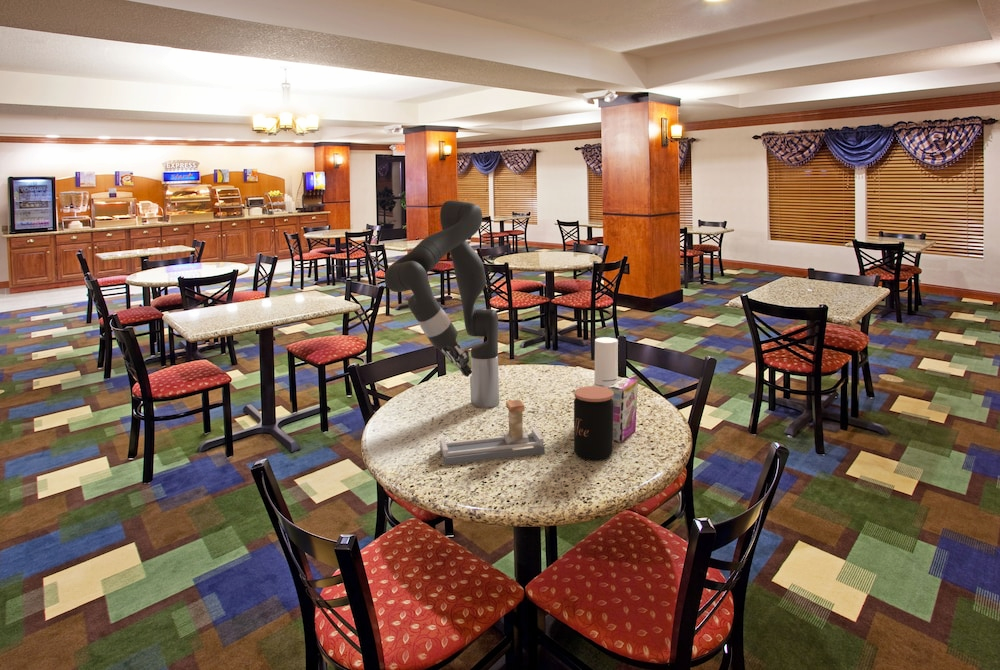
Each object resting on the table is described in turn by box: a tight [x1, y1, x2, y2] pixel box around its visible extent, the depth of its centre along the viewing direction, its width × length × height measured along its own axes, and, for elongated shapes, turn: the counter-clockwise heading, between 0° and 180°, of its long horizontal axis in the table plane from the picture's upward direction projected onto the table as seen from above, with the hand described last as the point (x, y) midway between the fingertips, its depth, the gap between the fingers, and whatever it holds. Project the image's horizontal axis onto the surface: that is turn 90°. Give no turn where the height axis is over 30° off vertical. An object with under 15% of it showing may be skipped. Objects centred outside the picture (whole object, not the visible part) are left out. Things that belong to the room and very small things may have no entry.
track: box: [439, 427, 546, 466], centre depth 170 cm, size 28×10×4 cm, turn 102°
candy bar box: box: [608, 377, 639, 443], centre depth 178 cm, size 11×5×16 cm, turn 145°
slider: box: [503, 399, 529, 445], centre depth 170 cm, size 6×5×12 cm
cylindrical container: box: [593, 336, 619, 388], centre depth 193 cm, size 7×7×25 cm
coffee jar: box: [573, 385, 614, 462], centre depth 166 cm, size 11×11×18 cm
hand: (468, 374), depth 167 cm, fingers closed
